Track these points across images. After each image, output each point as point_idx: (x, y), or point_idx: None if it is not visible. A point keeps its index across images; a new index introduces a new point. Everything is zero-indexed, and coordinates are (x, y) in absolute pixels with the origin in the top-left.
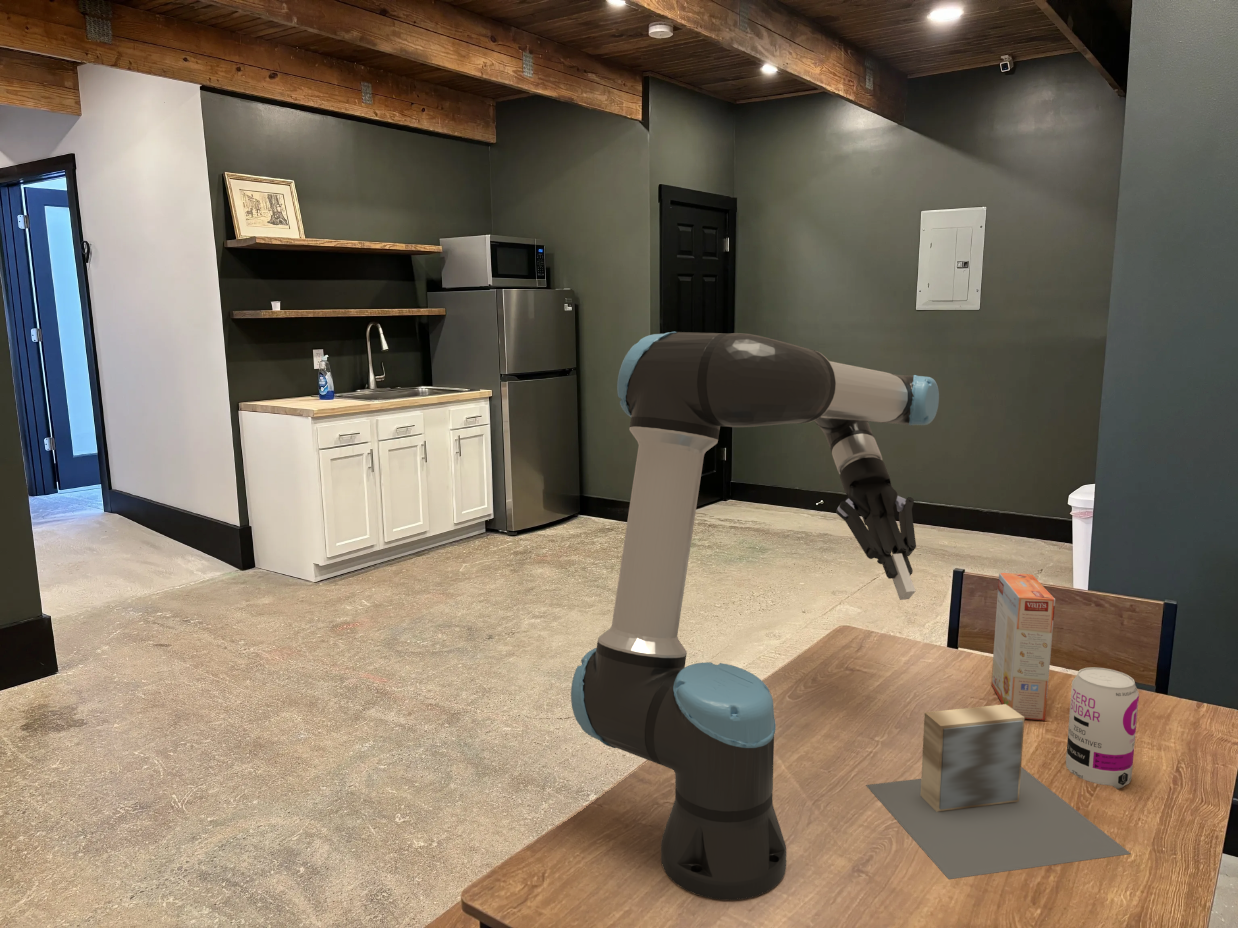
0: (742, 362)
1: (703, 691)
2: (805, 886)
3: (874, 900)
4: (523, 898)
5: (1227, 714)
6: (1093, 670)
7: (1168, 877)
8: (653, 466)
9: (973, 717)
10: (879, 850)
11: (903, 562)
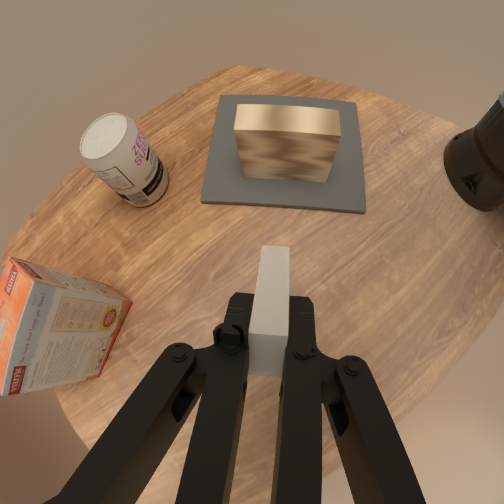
0: None
1: None
2: (435, 135)
3: (401, 112)
4: None
5: (4, 248)
6: (94, 155)
7: (213, 86)
8: None
9: (292, 114)
10: (383, 145)
11: (259, 304)
